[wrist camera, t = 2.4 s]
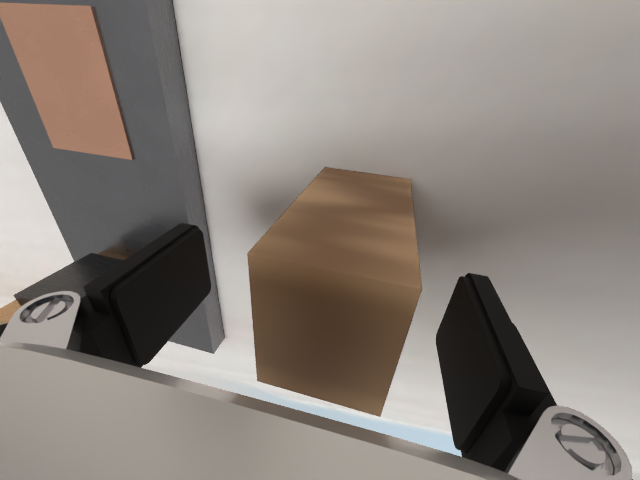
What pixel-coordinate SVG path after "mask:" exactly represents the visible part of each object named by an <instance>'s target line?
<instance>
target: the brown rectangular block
mask: <svg viewBox="0 0 640 480" xmlns="http://www.w3.org/2000/svg"><path fill="white" fill-rule="evenodd" d="M248 266H249V279H250V292H251V305H252V318H253V331H254V344H255V357H256V370H257V381H259V382H263V383H266V384H270V385H273V386H276V387H280V388H283V389H287V390H290V391H294V392H297V393H300V394H304V395H307V396H311V397H314V398H318V399H321V400H324V401H328V402H331V403H335V404H338V405H342V406H345V407H348V408H352V409H355V410H359V411H362V412H366V413H369V414H372V415H376V416H379V417H380V416H381V413H382V409H383V406H384V403H385V400H386V397H387V394H388V391H389V388H390V385H391V382H392V379H393V376H394V373H395V370H396V367H397V364H398V361H399V358H400V355H401V352H402V349H403V346H404V343H405V340H406V336H407V333H408V330H409V327H410V324H411V321H412V318H413V315H414V312H415V309H416V306H417V303H418V300H419V297H420V294H421V291H422V284H421V274H420V265H419V256H418V246H417V237H416V228H415V218H414V209H413V200H412V190H411V181H410V179H407V178H399V177H392V176H385V175H378V174H370V173H363V172H356V171H349V170H342V169H334V168H327V167H325V168H324V169H323V170H322V171H321V172H320V173H319V174H318V175H317V177H316V178H315V179H314V180H313V181H312V182H311V183H310V184H309V185H308V187H307V188H306V189H305V190H304V191H303V192H302V193H301V194H300V195H299V197H298V198H297V199H296V200H295V201H294V202H293V203H292V204H291V205H290V207H289V208H288V209H287V210H286V211H285V212H284V213H283V214H282V216H281V217H280V218H279V219H278V220H277V221H276V222H275V223H274V224H273V226H272V227H271V228H270V229H269V230H268V231H267V232H266V233H265V234H264V236H263V237H262V238H261V239H260V240H259V241H258V242H257V243H256V244H255V246H254V247H253V248H252V249H251V250H250V251H249V252H248Z"/></svg>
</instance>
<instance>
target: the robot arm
mask: <svg viewBox="0 0 640 480" xmlns="http://www.w3.org/2000/svg"><path fill="white" fill-rule="evenodd" d="M83 288H84V290H85V292H86V296H84V297H83V298H82V299H81V297H80V296H79V295H78V294H77V293H75V292H72V291H59V292H53V293H49V294H46V295H43V296H40V297H38V298H35V299H33V300H31V301H29V302H27V303H26V304H24V305H23V306H21V307H20V308H19V309H18V310H17V311H16V312H15V313H14V314H13V316H12V317H11V319H10V321H9V323H6V324H2V325H0V480H633V479H632V466H631V464H630V462H629V459H628V457H627V455H626V453H625V452H624V450H623V449H622V447H621V446H620V445H619V443H618V442H617V441H616V440H615V439H614V438H613V437H612V436H611V435H610V434H609V433H608V432H607V430H605V429H604V428H603V427H602V426H600V425H599V424H598V423H597V422H595V421H594V420H593V419H591V418H589V417H588V416H586V415H584V414H582V413H581V412H579V411H576V410H574V409H571V408H568V407H563V406H557V404H556V402H555V401H554V399H553V397H552V395H551V393H550V391H549V389H548V387H547V385H546V383H545V381H544V379H543V378H542V376H541V374H540V372H539V370H538V368H537V366H536V364H535V362H534V360H533V358H532V356H531V355H530V353H529V351H528V349H527V347H526V345H525V343H524V341H523V339H522V337H521V335H520V333H519V332H518V330H517V328H516V326H515V325H514V324H513V323H512V322H511V320H510V318H509V316H508V314H507V312H506V310H505V308H504V306H503V304H502V302H501V300H500V298H499V297H498V295H497V293H496V291H495V289H494V287H493V285H492V283H491V281H490V279H489V278H488V277H487V276H482V275H477V274H471V273H468V274H467V275H466V276H465V277H463V276H461V277H460V278H459V279H458V282H457V284H456V287H455V289H454V292H453V294H452V297H451V299H450V302H449V304H448V307H447V309H446V312H445V314H444V317H443V319H442V322H441V324H440V327H439V329H438V332H437V335H436V346H437V351H438V357H439V363H440V368H441V374H442V379H443V385H444V391H445V396H446V402H447V408H448V413H449V419H450V424H451V430H452V436H453V441H454V445H455V447H456V448H457V449H458V450H461V453H462V457H460V456H456V455H453V454H450V453H447V452H443V451H440V450H436V449H433V448H430V447H426V446H423V445H419V444H416V443H413V442H409V441H406V440H403V439H399V438H395V437H392V436H389V435H385V434H381V433H378V432H375V431H371V430H367V429H363V428H360V427H356V426H352V425H349V424H346V423H342V422H339V421H335V420H331V419H328V418H324V417H320V416H317V415H313V414H310V413H306V412H303V411H299V410H295V409H291V408H288V407H284V406H281V405H277V404H273V403H270V402H266V401H262V400H258V399H255V398H251V397H248V396H244V395H240V394H237V393H233V392H229V391H225V390H222V389H218V388H214V387H210V386H207V385H203V384H200V383H196V382H192V381H189V380H185V379H181V378H177V377H173V376H170V375H166V374H162V373H158V372H154V371H151V370H146V369H143V368H141V367H142V366H143V365H145V364H147V363H149V362H150V361H151V360H152V359H153V358H154V356H155V355H156V354H157V353H158V352H159V351H160V349H161V348H162V347H163V346H164V345H165V344H166V343H167V341H168V340H169V339H170V338H171V337H172V336H173V335H174V333H175V332H176V331H177V330H178V329H179V328H180V327H181V325H182V324H183V323H184V322H185V321H186V320H187V318H188V317H189V316H190V315H191V314H192V313H193V312H194V310H195V309H196V308H197V307H198V306H199V305H200V304H201V302H202V301H203V300H204V299H205V298H206V297H207V296H208V294H209V293H210V290H211V280H210V274H209V267H208V261H207V255H206V249H205V242H204V236H203V232H202V231H201V230H200V229H199V227H198V226H196V225H192V224H186V223H180V224H178V225H177V226H175V227H174V228H172V229H171V230H169V231H168V232H166V233H165V234H163V235H161V236H160V237H158V238H157V239H155V240H154V241H152V242H151V243H149V244H148V245H146V246H145V247H143V248H142V249H140V250H139V251H137V252H135V253H134V254H132V255H131V256H129V257H128V258H126V259H125V260H123V261H122V262H120V263H119V264H117V265H116V266H114V267H113V268H111V269H110V270H108V271H106V272H105V273H103V274H102V275H100V276H99V277H97V278H96V279H94V280H93V281H91V282H90V283H88V284H87V285H85V286H84V287H83Z"/></svg>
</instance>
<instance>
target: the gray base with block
mask: <svg viewBox="0 0 640 480" xmlns="http://www.w3.org/2000/svg"><path fill="white" fill-rule="evenodd" d="M0 102H1V104H2V106H3V108H4V110H5V112H6V115H7V117H8V119H9V121H10V123H11V125H12V127H13V130H14V132H15V134H16V136H17V138H18V140H19V143H20V145H21V147H22V149H23V151H24V153H25V156H26V158H27V160H28V162H29V164H30V166H31V169H32V171H33V173H34V175H35V177H36V179H37V182H38V184H39V186H40V188H41V190H42V192H43V195H44V197H45V199H46V201H47V203H48V205H49V208H50V210H51V212H52V214H53V216H54V218H55V220H56V223H57V225H58V227H59V229H60V231H61V233H62V236H63V238H64V240H65V242H66V244H67V246H68V249H69V251H70V253H71V255H72V257H73V259H74V262H73V263H72V264H70V265H68V266H66V267H64V268H62V269H61V270H59V271H57V272H55V273H53V274H52V275H50V276H48V277H46V278H44V279H42V280H41V281H39V282H37V283H35V284H33V285H31V286H30V287H28V288H26V289H24V290H22V291H20V292H19V293H17V294H15V295H14V297H15V298H16V300H15V301H13V302H11V303H9V304H8V305H6V306H4V307H2V308H1V309H0V325H2V324H6V323H9V321H10V319H11V317H12V316H13V314H14V313H15V312H16V311H17V310H18V309H19V308H20V307H21V306H23V305H24V304H26V303H27V302H29V301H31V300H33V299H35V298H38V297H40V296H43V295H46V294H49V293H53V292H59V291H72V292H75V293H77V294H78V295H79V296H80V297H81V299H82V298H83V297H84V296H86V292H85V290H84V288H83V287H84V286H85V285H87V284H88V283H90V282H91V281H93V280H94V279H96V278H97V277H99V276H100V275H102V274H103V273H105V272H106V271H108V270H110V269H111V268H113V267H114V266H116V265H117V264H119V263H120V262H122V261H123V260H125V259H126V258H128V257H129V256H131V255H132V254H134V253H135V252H137V251H139V250H140V249H142V248H143V247H145V246H146V245H148V244H149V243H151V242H152V241H154V240H155V239H157V238H158V237H160V236H161V235H163V234H165V233H166V232H168V231H169V230H171V229H172V228H174V227H175V226H177V225H178V224H180V223H186V224H192V225H196V226H198V227H199V229H200V230H201V231H202V232H203V236H204V242H205V249H206V255H207V261H208V267H209V274H210V280H211V290H210V293H209V294H208V296H207V297H206V298H205V299H204V300H203V301H202V302H201V304H200V305H199V306H198V307H197V308H196V309H195V310H194V312H193V313H192V314H191V315H190V316H189V317H188V318H187V320H186V321H185V322H184V323H183V324H182V325H181V327H180V328H179V329H178V330H177V331H176V332H175V333H174V335H173V336H172V337H171V338H170V339H169V340H168V341H171V342H174V343H178V344H181V345H185V346H188V347H192V348H195V349H199V350H202V351H206V352H209V353H213V354H214V353H215V351H216V350H217V348H218V347H219V345H220V344H221V342H222V341H223V340H224V331H223V325H222V319H221V312H220V306H219V299H218V293H217V286H216V280H215V274H214V267H213V261H212V254H211V248H210V242H209V235H208V229H207V222H206V216H205V210H204V203H203V197H202V190H201V184H200V177H199V171H198V165H197V158H196V152H195V145H194V139H193V133H192V126H191V120H190V113H189V107H188V100H187V94H186V88H185V81H184V75H183V68H182V62H181V56H180V49H179V43H178V36H177V30H176V23H175V17H174V11H173V4H172V0H0Z"/></svg>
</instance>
